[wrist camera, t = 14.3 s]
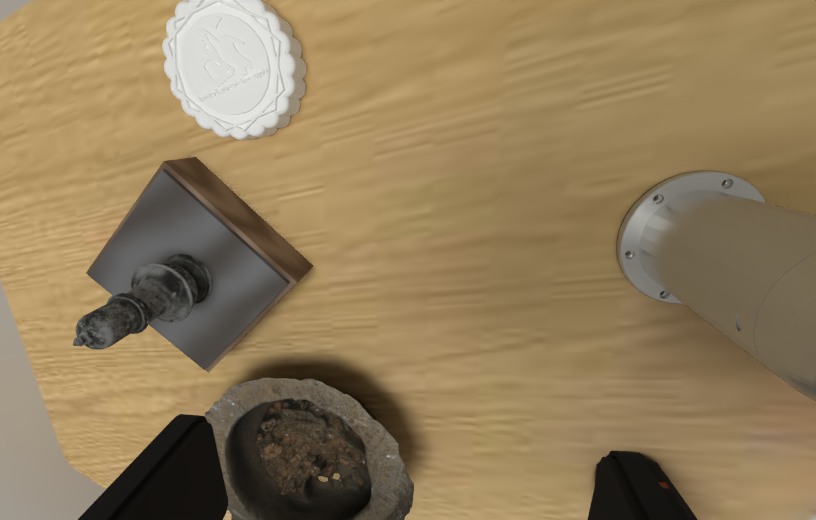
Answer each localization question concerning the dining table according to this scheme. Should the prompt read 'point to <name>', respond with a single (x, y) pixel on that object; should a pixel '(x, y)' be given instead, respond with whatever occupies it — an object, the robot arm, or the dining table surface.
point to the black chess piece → (147, 301)
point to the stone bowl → (306, 454)
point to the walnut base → (202, 256)
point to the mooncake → (234, 66)
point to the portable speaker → (669, 492)
